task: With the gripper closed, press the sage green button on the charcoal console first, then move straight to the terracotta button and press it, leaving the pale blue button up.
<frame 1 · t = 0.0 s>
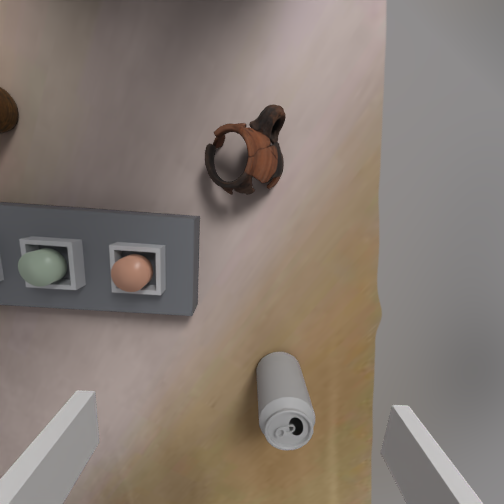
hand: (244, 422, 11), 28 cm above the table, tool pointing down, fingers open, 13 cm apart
sage button: (43, 267, 31), point 7 cm above the table, slide at 0.0 cm
console: (79, 254, 38), on the table
terracotta button: (132, 272, 31), point 7 cm above the table, slide at 0.0 cm
can: (277, 366, 43), on the table
dark brown curved piece: (251, 156, 35), on the table
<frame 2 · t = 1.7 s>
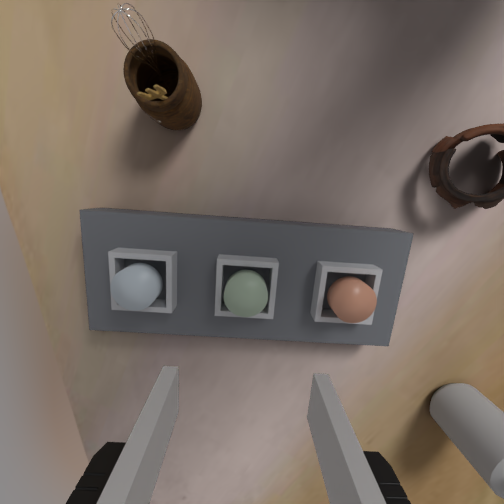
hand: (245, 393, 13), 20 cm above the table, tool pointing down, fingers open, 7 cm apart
sage button: (245, 292, 26), point 7 cm above the table, slide at 0.0 cm
console: (246, 272, 32), on the table
utensil holder: (177, 105, 28), on the table
pale blue button: (137, 286, 25), point 7 cm above the table, slide at 0.0 cm
terracotta button: (351, 299, 26), point 7 cm above the table, slide at 0.0 cm
can: (449, 398, 38), on the table
dark brown curved piece: (466, 162, 30), on the table
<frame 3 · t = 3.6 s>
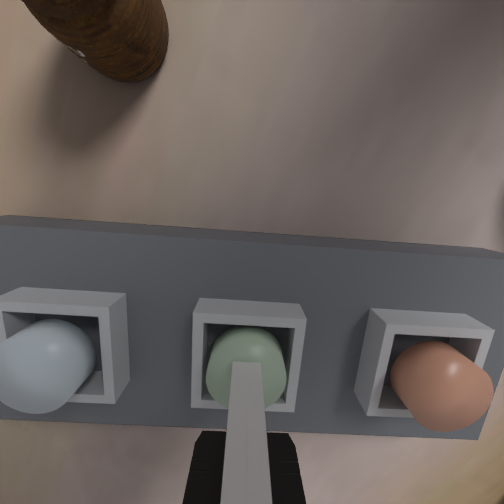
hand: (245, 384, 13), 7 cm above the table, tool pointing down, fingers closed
sage button: (246, 366, 15), point 6 cm above the table, slide at 0.7 cm, touching gripper
console: (246, 316, 20), on the table
utensil holder: (127, 38, 16), on the table
pale blue button: (44, 364, 14), point 7 cm above the table, slide at 0.0 cm
terracotta button: (438, 384, 14), point 7 cm above the table, slide at 0.0 cm
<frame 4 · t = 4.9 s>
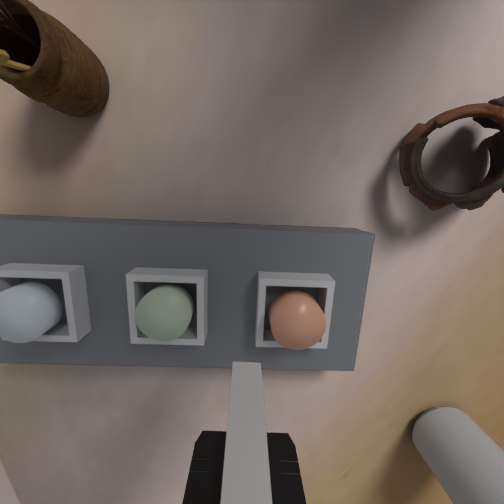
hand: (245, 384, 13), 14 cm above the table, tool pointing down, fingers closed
sage button: (166, 311, 21), point 6 cm above the table, slide at 0.7 cm
console: (183, 285, 27), on the table
utensil holder: (81, 85, 23), on the table
pale blue button: (25, 311, 20), point 7 cm above the table, slide at 0.0 cm
terracotta button: (296, 319, 21), point 7 cm above the table, slide at 0.0 cm
can: (435, 424, 32), on the table
dark brown curved piece: (445, 153, 25), on the table
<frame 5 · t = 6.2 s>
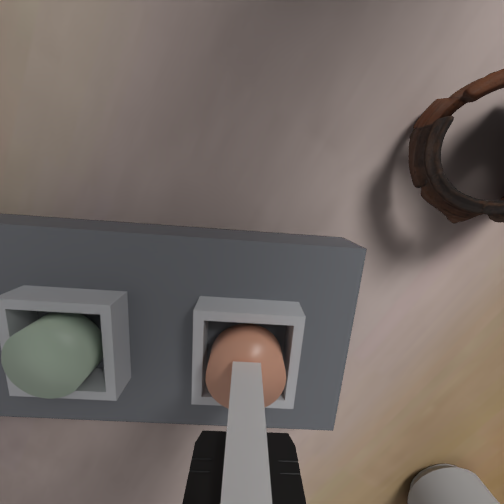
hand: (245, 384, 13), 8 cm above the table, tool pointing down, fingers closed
sage button: (57, 353, 14), point 6 cm above the table, slide at 0.7 cm
console: (112, 306, 20), on the table
terracotta button: (246, 366, 15), point 6 cm above the table, slide at 0.5 cm, touching gripper
can: (436, 483, 26), on the table
dark brown curved piece: (471, 144, 18), on the table
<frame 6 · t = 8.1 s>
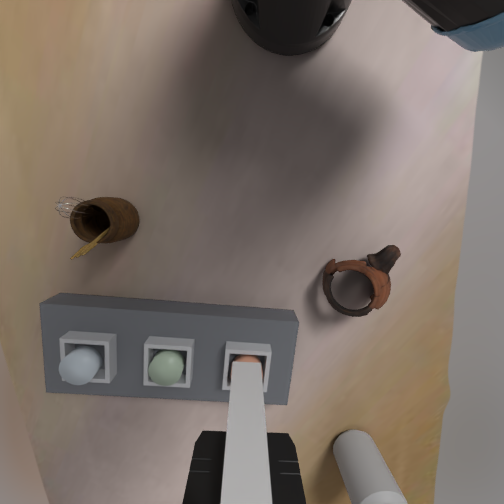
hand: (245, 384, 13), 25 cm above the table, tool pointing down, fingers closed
sage button: (167, 366, 34), point 6 cm above the table, slide at 0.7 cm
console: (178, 342, 40), on the table
utensil holder: (121, 219, 36), on the table
pale blue button: (81, 365, 33), point 7 cm above the table, slide at 0.0 cm
terracotta button: (246, 371, 35), point 6 cm above the table, slide at 0.7 cm
can: (350, 441, 46), on the table
dark brown curved piece: (354, 272, 39), on the table
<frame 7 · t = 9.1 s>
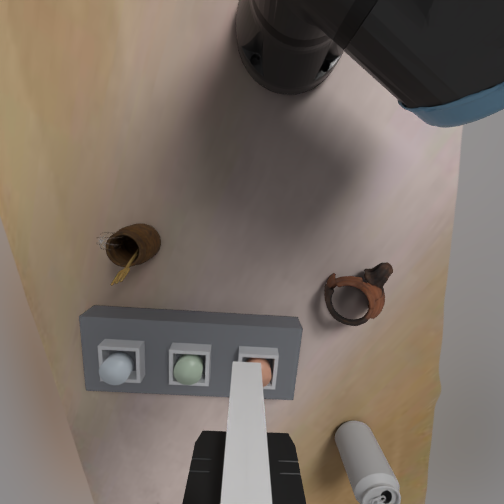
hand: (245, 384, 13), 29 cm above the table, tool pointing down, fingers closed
sage button: (189, 368, 40), point 6 cm above the table, slide at 0.7 cm
console: (196, 346, 46), on the table
utensil holder: (144, 241, 41), on the table
pale blue button: (116, 368, 39), point 7 cm above the table, slide at 0.0 cm
terracotta button: (257, 372, 40), point 6 cm above the table, slide at 0.7 cm
can: (351, 431, 51), on the table
dark brown curved piece: (353, 284, 44), on the table
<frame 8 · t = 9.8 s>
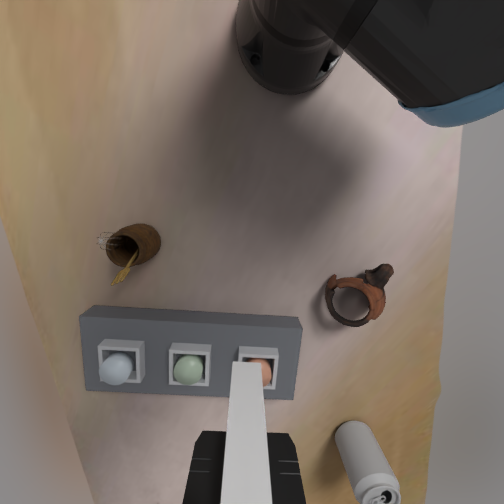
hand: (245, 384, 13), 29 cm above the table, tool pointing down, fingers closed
sage button: (189, 368, 40), point 6 cm above the table, slide at 0.7 cm
console: (196, 346, 46), on the table
utensil holder: (144, 241, 41), on the table
pale blue button: (116, 368, 39), point 7 cm above the table, slide at 0.0 cm
terracotta button: (257, 372, 40), point 6 cm above the table, slide at 0.7 cm
can: (351, 431, 51), on the table
dark brown curved piece: (353, 285, 44), on the table
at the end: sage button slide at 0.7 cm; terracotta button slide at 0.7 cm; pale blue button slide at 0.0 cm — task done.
